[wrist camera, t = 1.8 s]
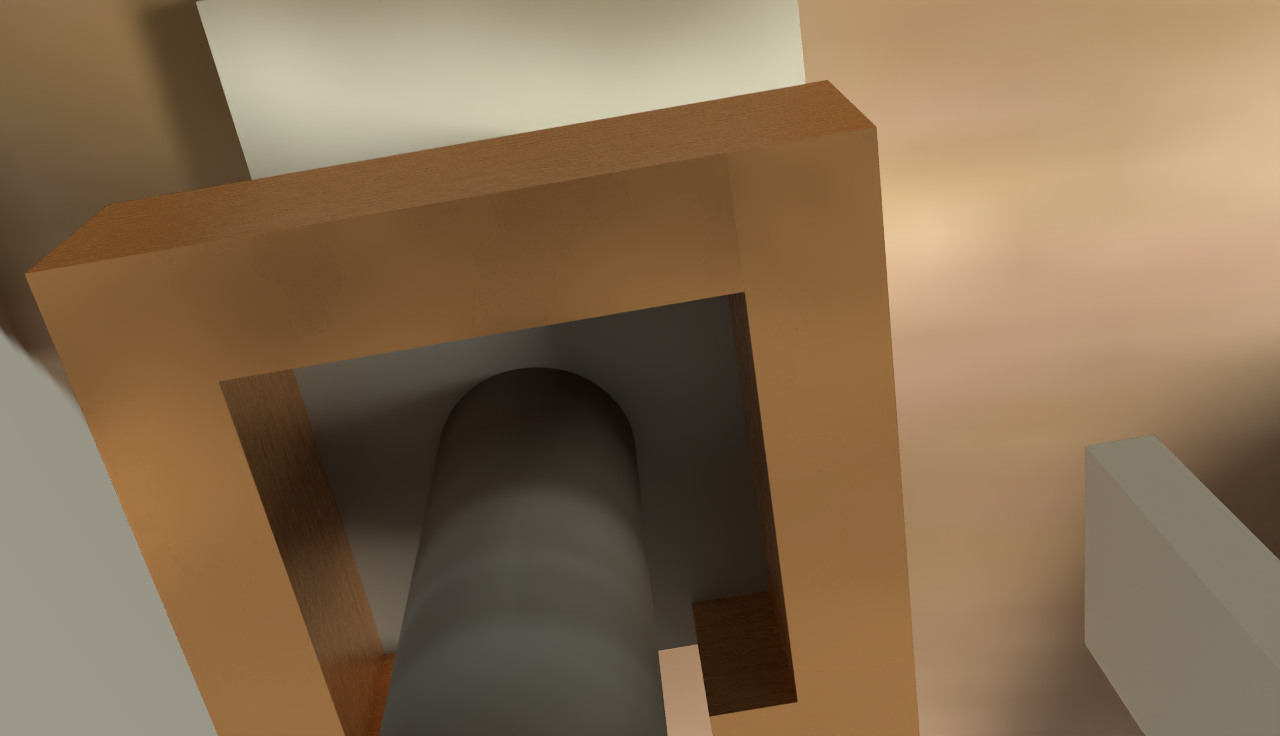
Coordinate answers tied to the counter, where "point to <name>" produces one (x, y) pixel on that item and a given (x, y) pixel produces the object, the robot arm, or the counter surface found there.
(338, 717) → the link
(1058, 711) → the counter surface
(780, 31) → the post stand
